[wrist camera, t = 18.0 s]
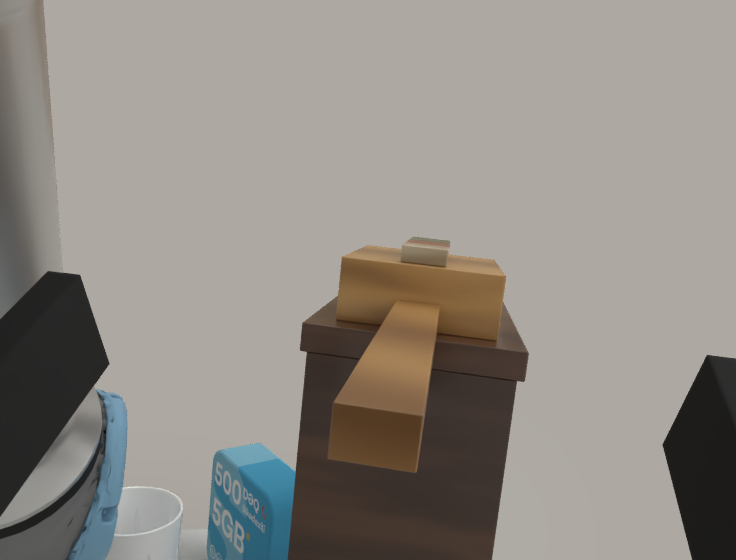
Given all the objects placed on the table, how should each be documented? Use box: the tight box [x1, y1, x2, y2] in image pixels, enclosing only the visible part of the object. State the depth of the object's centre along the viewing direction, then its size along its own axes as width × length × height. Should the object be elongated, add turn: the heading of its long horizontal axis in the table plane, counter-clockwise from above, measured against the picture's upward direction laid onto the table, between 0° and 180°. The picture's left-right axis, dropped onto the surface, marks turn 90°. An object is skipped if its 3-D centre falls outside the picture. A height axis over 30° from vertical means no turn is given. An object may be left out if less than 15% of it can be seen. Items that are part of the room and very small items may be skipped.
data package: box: [207, 443, 296, 560], centre depth 56 cm, size 12×4×12 cm, turn 37°
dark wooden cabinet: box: [288, 296, 529, 560], centre depth 44 cm, size 19×12×30 cm, turn 172°
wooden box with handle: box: [328, 237, 506, 473], centre depth 30 cm, size 28×9×5 cm, turn 172°
